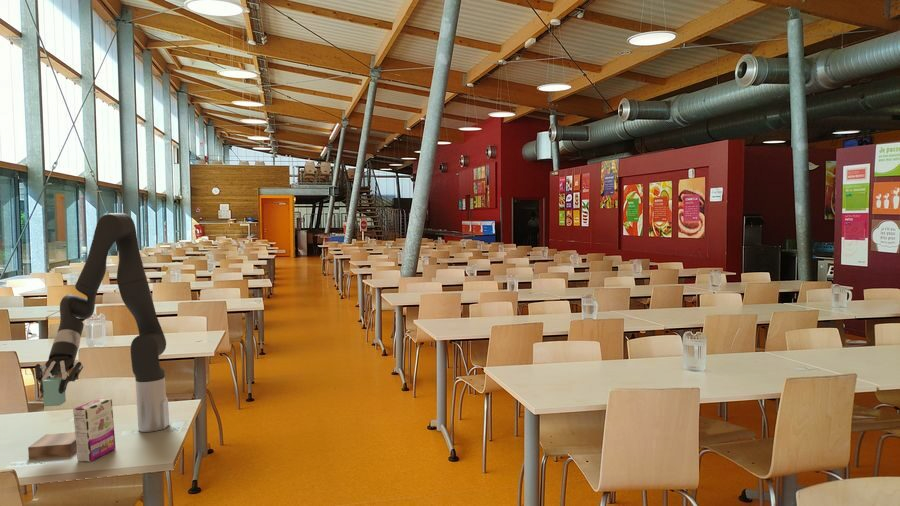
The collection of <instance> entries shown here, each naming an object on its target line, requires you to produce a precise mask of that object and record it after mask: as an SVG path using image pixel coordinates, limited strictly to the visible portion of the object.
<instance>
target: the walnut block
mask: <svg viewBox="0 0 900 506" xmlns="http://www.w3.org/2000/svg"><path fill="white" fill-rule="evenodd" d="M27 448H28V459H29V460H31V459H44V458H55V457H57V458H59V457H68V456H69V457H71V456H72V455H73V454H75V453H77V448H76V436H75V431H74V432H63V433H49V434H48V433H47V434H44V435H43V436H42V437H40V438H39V439H38V440H36V441H35V442H33V443H32V444H31V445H29V446H28V447H27ZM74 452H75V453H74Z"/></svg>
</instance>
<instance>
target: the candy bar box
mask: <svg viewBox="0 0 900 506" xmlns="http://www.w3.org/2000/svg"><path fill="white" fill-rule="evenodd" d="M112 399H113V398H109V397H107V398H106V397H104V398H102V397H101V398H97V399H93V400H92V401H89V402H87V403H84V404H81V405H80V406H78V407H75V408H73V409H72V410H73V411H72V412H73V423H74V424H73V425H74V432H75V436H76V448H77V451H76V456H77V457H76V458H77V462H80V463H81V462H82V463H92V462H94V461H96V460H97V459H100V458H101V457H103V456H106V455H107V454H109V453H110V452H112V451H114V450H116V448H117V447H116V436H115V425H114V411H113V410H114V409H113V400H112Z"/></svg>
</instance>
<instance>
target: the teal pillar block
mask: <svg viewBox="0 0 900 506" xmlns="http://www.w3.org/2000/svg"><path fill="white" fill-rule="evenodd" d="M61 380H63V379H62V376H57V377H56V376H54V377H51V378H47V379H46V380H44V381H43V391H44V393H43V406H44V407H56V406H61V405H63V404H64V403H66V402H67V399H66V391H65V392H63V394H60V393H59V391H58V389H59V386H60V383H61Z"/></svg>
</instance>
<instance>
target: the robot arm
mask: <svg viewBox="0 0 900 506" xmlns="http://www.w3.org/2000/svg"><path fill="white" fill-rule="evenodd" d="M114 243H115V245H116V248H117V253H118V266H117V271H116V282H117V287H118V290H119V294H120V297H121V300H122V301H123V304H124V305H125V307H126V308H127V310H128V311H129V312H130V313H131V315H132V316H133V319H134V320H135V323H136V325H137V330H138V335H137V336H136V337H135V336H134V338H133V339H132V341H131V342H130V359H131V361H130V363H131V369H132V373H133V375H134V378H135V395H136V397H135V398H136V410H137V412H136V413H137V429H138V431H140V433H141V432H143V433H149V432H157V431H161V430H165V429H167V427H168V426H169V425H170V412H169V410H170V409H169V397H167V394H166V393H167V392H166V375H165V369H164V368H163V367H161V365H160V357H159V356H161V355H163V353H164V352H165V350H166V348H167V339H166V336H165V334H164V331H163V329H162V327H161V323H160V321H159V318H158V316H157V313H156V308H155V305H154V300H153V297H152V293H151V289H150V286H149V281H148V277H147V274H146V271H145V267H144V264H143V261H142V256H141V252H140V248H139V242H138V235H137V229H136V225H135V222H134V220H133V218H132V217H131V216H130V215H129V214H127V213H125V212H110V213H106V214H105V213H104V214H103V215H102V216H101V217H99V219H98V221H97V223H96V225H95V229H94V234H93V238H92V241H91V244H90V247H89V248H90V249H89V251H88V253H87V254H88V255H87V257H86V260H85V264H84V266H83V267H82V269H81V271H80V273H79V275H78V278H77V281H76V282H75V286H74V288H75V290H77V291H78V293H81V294H83V295H84V296H86V297H82V296H80V295H75V294H71V293H70V294H66V295H64V296H63V297H62V298H61V300H60V302H59V313H60V315H59V316H60V317H59V318H60V321H59V322H60V323H59V326H58V329H57V332H56V335H55V337H54V339H53V342H52V345H51V348H50V352H49V356H48V360H47V361H46V362H45V363H43V364H40V363H37V364H36V365H35V379H36V380H37V382H38V383H39V384H40V386H39V392H40V393H41V395H43V393H44V391H43V381H44V380H46V379H47V378H51V377H56V376H58V375H60V376H61V377H62V379H63V380H61V383H60V386H59V389H58V391H59V393H60V394H63V392H65V393H66V390H67V387H68V384H69V383H70V382H75V381H76V380H77V378H79V377H78V376H79V375H80V374H81V372H82V370H83V369H84V365H83V363H82V362H81V361H77V362H76V358H77V355H78V351H79V348H80V344H81V343H80V342H81V338H82V334H83V330H84V322H83V320H87V319H88V320H89V318H91V317H92V315H94V312H95V306H96V297H97V294H98V290H99V289H100V286H101V284H102V282H103V280H104V278H105V275H106V271H107V258H108V254H109V251H110V249H111V248H112V246H113V244H114ZM46 368H47V369H46ZM69 371H71V372H70V373H69ZM43 373H44V374H43ZM43 396H44V395H43Z"/></svg>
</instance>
